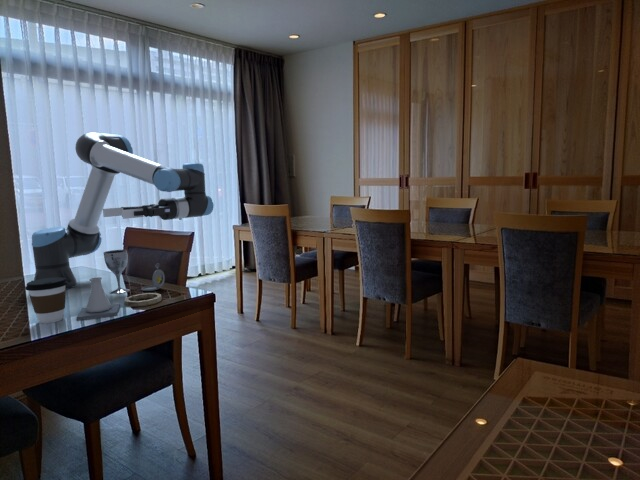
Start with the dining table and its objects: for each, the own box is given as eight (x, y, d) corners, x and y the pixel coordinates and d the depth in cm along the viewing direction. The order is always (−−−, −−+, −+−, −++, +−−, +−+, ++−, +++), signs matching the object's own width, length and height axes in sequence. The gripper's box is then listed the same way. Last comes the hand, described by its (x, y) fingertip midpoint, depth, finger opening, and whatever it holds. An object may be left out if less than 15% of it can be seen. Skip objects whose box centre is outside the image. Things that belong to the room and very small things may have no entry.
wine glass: (128, 293, 171) (124, 252, 169) (105, 295, 170) (100, 253, 168) (133, 288, 179) (129, 249, 177) (111, 289, 177) (106, 250, 175)
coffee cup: (74, 320, 139) (69, 280, 138) (31, 328, 133) (26, 287, 131) (69, 312, 148) (64, 275, 146) (28, 320, 142) (23, 281, 140)
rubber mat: (82, 310, 149) (82, 307, 149) (120, 306, 153) (119, 303, 153) (76, 320, 139) (76, 317, 139) (117, 315, 142) (116, 312, 142)
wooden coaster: (126, 299, 161) (125, 295, 161) (161, 295, 164) (161, 291, 164) (123, 308, 150) (123, 303, 150) (161, 303, 154) (161, 299, 153)
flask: (101, 313, 141) (97, 281, 140) (80, 313, 143) (76, 280, 142) (116, 306, 148) (113, 275, 147) (96, 306, 150) (93, 275, 149)
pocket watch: (142, 288, 177) (139, 262, 175) (165, 286, 179) (163, 260, 178) (141, 293, 169) (138, 266, 168) (165, 291, 172) (163, 263, 170)
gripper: (193, 220, 159) (132, 227, 143) (155, 217, 175) (97, 223, 160) (191, 198, 158) (130, 202, 142) (153, 197, 174) (95, 201, 159)
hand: (112, 213), depth 151 cm, fingers open, 13 cm apart
